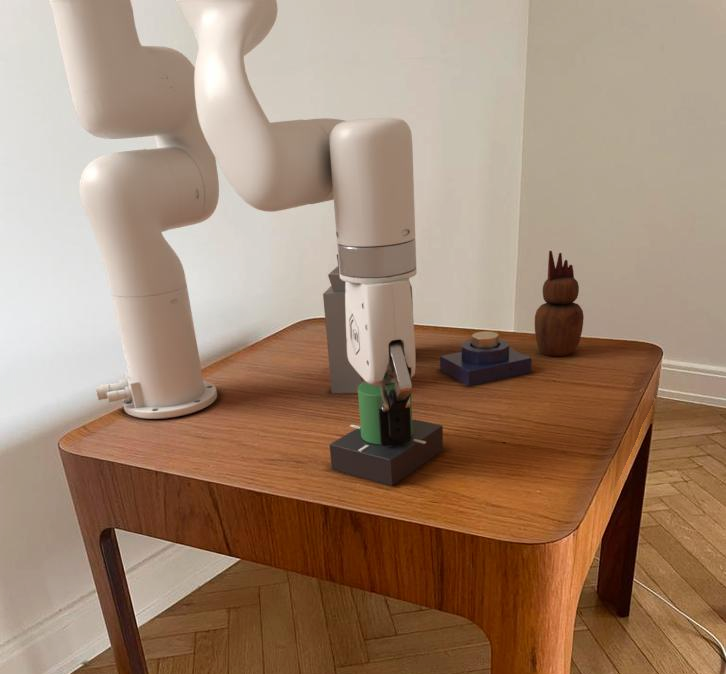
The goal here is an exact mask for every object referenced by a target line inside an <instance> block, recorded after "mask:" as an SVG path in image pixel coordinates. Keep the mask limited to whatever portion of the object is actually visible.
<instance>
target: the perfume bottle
mask: <svg viewBox="0 0 726 674" xmlns="http://www.w3.org/2000/svg"><path fill="white" fill-rule="evenodd" d="M336 261H337V266H336V267H335V268H333V269H332V270H331V271H330V272H329V273H328V274H327V277H328V279H329V283H330V285H331V286H329V288H327V289H326V290H325V291H324V292H323V293H322V297H323V299H322V300H323V310H324V320H325V321H324V322H325V332H326V333H325V334H326V343H327V344H326V345H327V356H328V366H329V379H330V388H331V389H330V390H331V394H358V386H359V385H360V384H361V376H360V375H359V373H358V372H357V371H356V370H355V369H354V368H353V366H352V365H351V364H350V362H349V360H348V357H347V341H346V312H345V284H346V282H345V281H342V280H341V279H340V273H339V261H338V253H337V254H336ZM389 374H390V373H388V377H390V375H389Z"/></svg>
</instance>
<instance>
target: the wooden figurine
mask: <svg viewBox="0 0 726 674" xmlns="http://www.w3.org/2000/svg"><path fill="white" fill-rule="evenodd" d="M562 255H563V254H562V252H559V253H558V256H557V260H556V264H555V259H554V255H553V251H552V250H549V251H548V263H547V264H548V265H547V279H546V280H544V283H543V285H542V298H543V301H544V302H545V303H542V304H541V305H540V306H538V308H537V309H536V311H535V314H534V335H535V339H536V345H537V347H538V349H539V352H540V353H541V354H542V355H544V356H548V357H554V358H555V357H557V358H559V357H564V356H569V355H572V354H573V353H574V352H575V351H576V349H577V347H578V345H579V344H580V340H581V337H582V333H583V328H584V320H585V319H584V317H585V316H584V310H583V309H582V307H581V306H580V305H579V303H576V302H575V301H576V300H577V298H578V296H579V291H580V286H579V282H578V280H576V278H575V274H574V267H573V266H574V265H572V264H569V261H568V260H567V259H565V260H564V261H563V256H562Z"/></svg>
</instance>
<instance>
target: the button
mask: <svg viewBox="0 0 726 674" xmlns="http://www.w3.org/2000/svg"><path fill="white" fill-rule="evenodd" d="M471 339H472V347H473V348H477V349H492V348H496V347H498V339H499V333H497V332H495V331H478V332H477V331H476V332H474V333H472V335H471Z"/></svg>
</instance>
